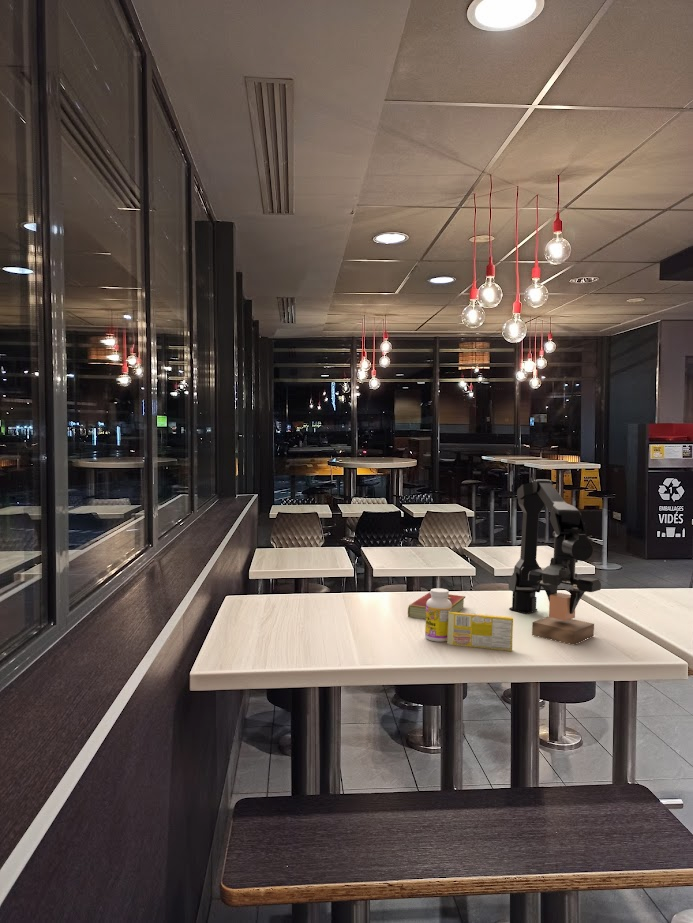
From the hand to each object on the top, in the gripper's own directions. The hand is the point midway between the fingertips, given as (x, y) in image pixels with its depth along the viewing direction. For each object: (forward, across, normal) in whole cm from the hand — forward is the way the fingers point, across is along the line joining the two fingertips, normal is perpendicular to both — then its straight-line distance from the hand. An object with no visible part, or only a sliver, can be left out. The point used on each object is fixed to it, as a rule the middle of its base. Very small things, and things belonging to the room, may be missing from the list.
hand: (562, 611), depth 185 cm
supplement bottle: (+7, -19, -30) cm, 36 cm away
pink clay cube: (+2, 0, 0) cm, 2 cm away
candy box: (+7, -8, -27) cm, 29 cm away
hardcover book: (+7, -38, -7) cm, 39 cm away
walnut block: (+7, 0, 0) cm, 7 cm away
